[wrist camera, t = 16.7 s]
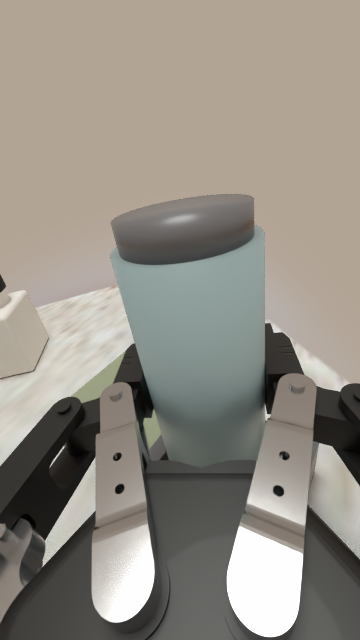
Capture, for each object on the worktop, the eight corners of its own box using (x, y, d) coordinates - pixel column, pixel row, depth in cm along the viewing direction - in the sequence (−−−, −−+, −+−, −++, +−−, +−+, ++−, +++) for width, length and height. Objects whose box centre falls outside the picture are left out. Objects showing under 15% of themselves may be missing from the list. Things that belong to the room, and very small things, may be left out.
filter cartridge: (164, 509, 16) (65, 232, 8) (203, 440, 20) (160, 198, 12) (247, 560, 14) (222, 229, 6) (275, 470, 17) (284, 187, 9)
